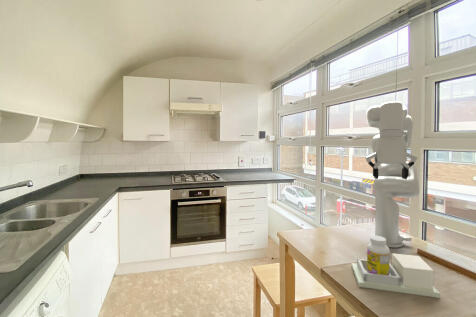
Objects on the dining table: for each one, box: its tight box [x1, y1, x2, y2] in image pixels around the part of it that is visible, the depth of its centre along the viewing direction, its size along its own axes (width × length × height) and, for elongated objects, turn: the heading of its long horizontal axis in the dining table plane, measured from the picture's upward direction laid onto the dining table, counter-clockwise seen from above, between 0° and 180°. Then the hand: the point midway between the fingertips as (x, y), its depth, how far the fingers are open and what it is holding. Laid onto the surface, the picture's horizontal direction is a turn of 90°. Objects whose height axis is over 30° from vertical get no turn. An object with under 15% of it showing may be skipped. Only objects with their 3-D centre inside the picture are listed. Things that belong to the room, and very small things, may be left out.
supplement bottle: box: [366, 235, 390, 275], centre depth 80 cm, size 7×7×13 cm
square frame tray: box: [351, 253, 441, 299], centre depth 79 cm, size 22×13×8 cm, turn 74°
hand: (390, 178), depth 91 cm, fingers open, 9 cm apart
